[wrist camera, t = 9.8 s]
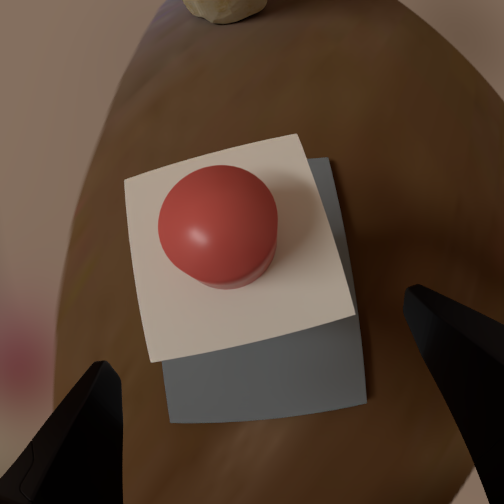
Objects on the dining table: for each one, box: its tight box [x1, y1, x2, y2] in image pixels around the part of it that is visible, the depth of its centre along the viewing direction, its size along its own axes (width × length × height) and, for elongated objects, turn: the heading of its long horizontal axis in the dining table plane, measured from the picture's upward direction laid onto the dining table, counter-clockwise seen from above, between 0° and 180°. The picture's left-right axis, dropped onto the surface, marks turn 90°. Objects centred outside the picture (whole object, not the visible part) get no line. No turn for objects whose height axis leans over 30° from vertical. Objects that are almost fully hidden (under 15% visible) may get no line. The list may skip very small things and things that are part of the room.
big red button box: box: [124, 134, 356, 362], centre depth 12 cm, size 5×5×12 cm
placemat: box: [162, 157, 367, 423], centre depth 18 cm, size 16×12×1 cm
